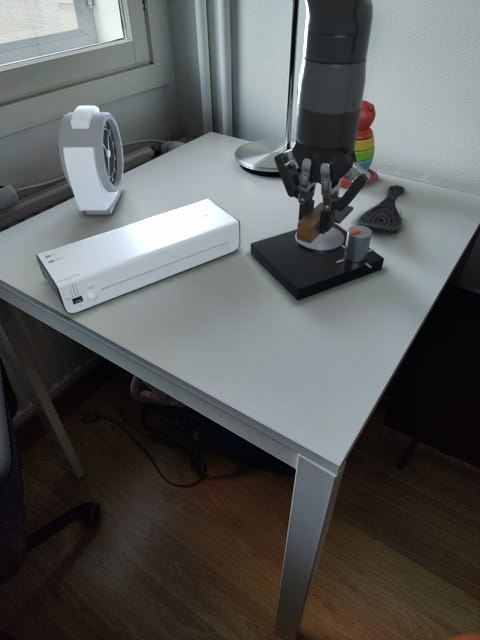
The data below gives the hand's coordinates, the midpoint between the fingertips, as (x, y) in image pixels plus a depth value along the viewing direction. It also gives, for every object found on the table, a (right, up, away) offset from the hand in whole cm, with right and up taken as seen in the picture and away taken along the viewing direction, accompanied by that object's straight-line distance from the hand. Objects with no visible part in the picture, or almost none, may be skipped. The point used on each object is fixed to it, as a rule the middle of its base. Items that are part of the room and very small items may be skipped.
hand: (315, 228), depth 66 cm
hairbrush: (+20, +9, +32) cm, 39 cm away
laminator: (-27, -4, +19) cm, 33 cm away
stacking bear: (+16, +21, +45) cm, 52 cm away
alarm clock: (-41, +13, +38) cm, 58 cm away
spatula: (+1, +1, +2) cm, 2 cm away
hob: (+3, -2, +19) cm, 19 cm away
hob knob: (+10, -2, +16) cm, 19 cm away
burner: (+4, +2, +21) cm, 21 cm away
